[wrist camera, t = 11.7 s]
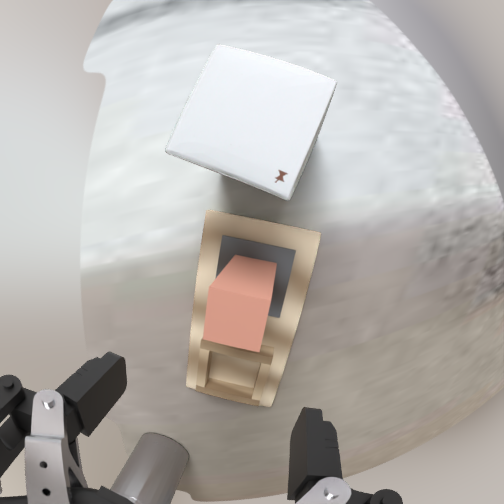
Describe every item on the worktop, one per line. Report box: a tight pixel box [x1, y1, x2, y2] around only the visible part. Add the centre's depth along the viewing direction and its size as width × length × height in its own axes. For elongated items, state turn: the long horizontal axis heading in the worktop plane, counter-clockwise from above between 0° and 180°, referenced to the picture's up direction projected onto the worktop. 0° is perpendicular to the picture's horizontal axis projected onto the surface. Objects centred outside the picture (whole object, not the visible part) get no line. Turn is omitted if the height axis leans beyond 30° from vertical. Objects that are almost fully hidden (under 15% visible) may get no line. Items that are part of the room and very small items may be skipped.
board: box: [186, 210, 321, 407], centre depth 27 cm, size 22×11×3 cm, turn 169°
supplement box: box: [165, 44, 337, 201], centre depth 18 cm, size 7×7×13 cm
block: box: [203, 255, 277, 352], centre depth 22 cm, size 4×4×9 cm
